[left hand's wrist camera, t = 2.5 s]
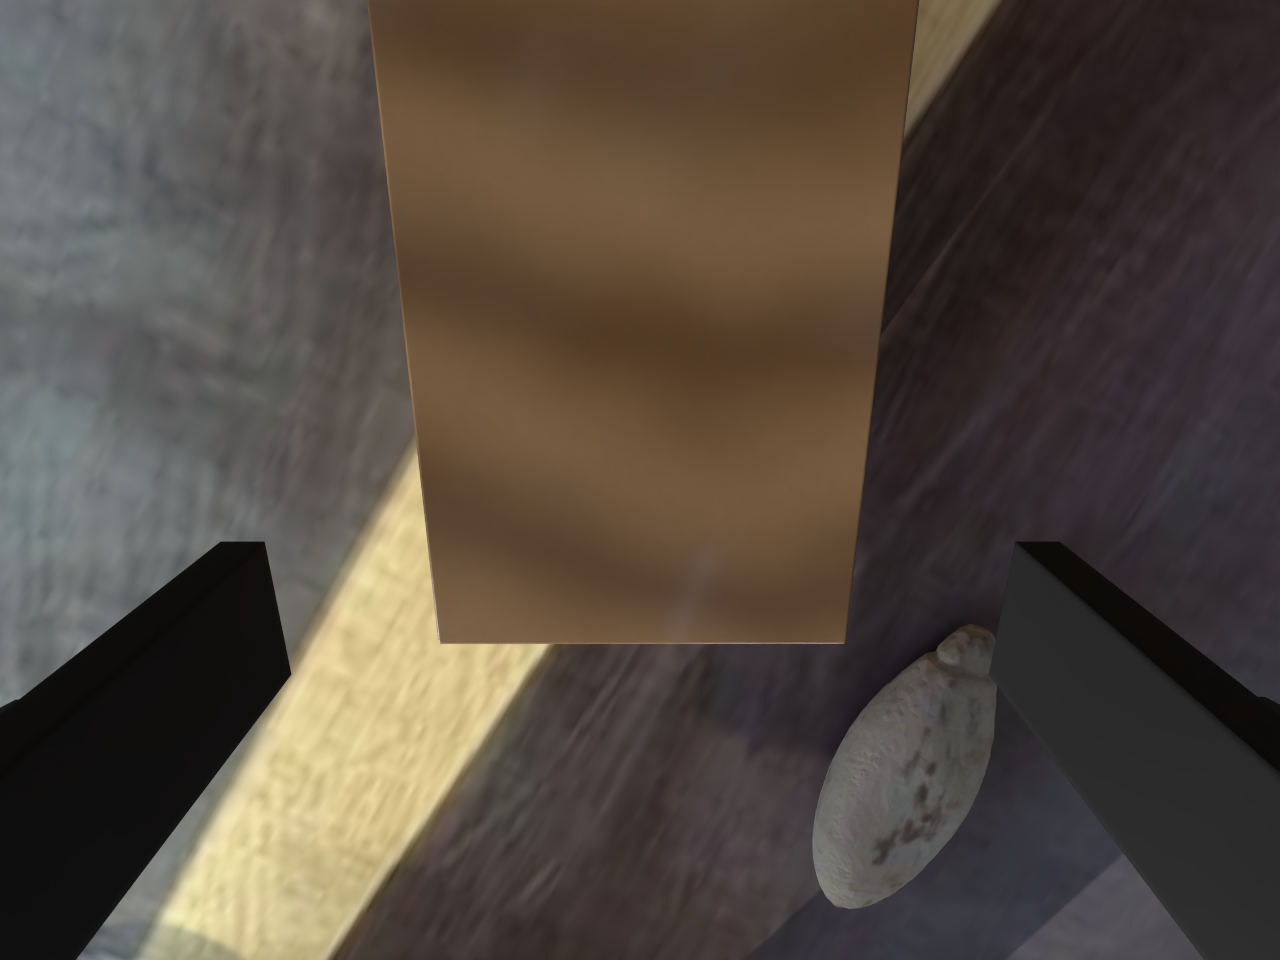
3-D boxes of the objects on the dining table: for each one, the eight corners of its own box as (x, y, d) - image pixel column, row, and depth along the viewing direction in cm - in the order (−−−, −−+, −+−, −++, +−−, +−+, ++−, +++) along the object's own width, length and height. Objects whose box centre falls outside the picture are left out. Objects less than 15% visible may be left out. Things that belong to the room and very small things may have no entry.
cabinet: (479, 7, 24) (346, -167, 13) (803, 8, 24) (939, -166, 13) (511, 489, 29) (438, 644, 19) (770, 489, 29) (845, 644, 19)
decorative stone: (1027, 626, 31) (1071, 673, 28) (889, 880, 36) (913, 944, 33) (898, 592, 31) (928, 636, 28) (776, 855, 36) (790, 918, 33)
